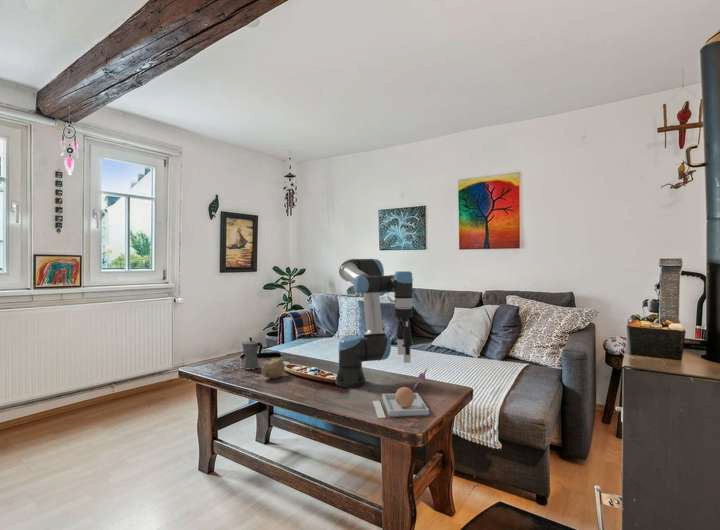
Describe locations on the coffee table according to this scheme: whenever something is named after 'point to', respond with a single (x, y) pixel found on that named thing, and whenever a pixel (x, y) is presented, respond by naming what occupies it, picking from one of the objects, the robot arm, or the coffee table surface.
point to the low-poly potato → (273, 368)
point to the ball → (404, 397)
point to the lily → (421, 378)
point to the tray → (396, 410)
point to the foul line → (379, 409)
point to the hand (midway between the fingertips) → (403, 358)
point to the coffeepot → (251, 353)
